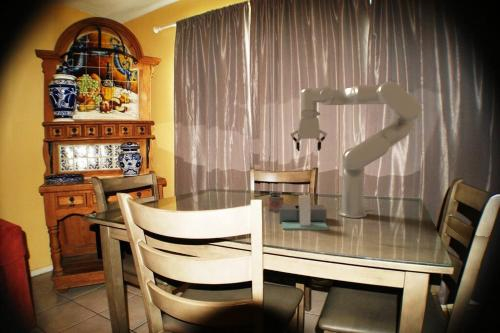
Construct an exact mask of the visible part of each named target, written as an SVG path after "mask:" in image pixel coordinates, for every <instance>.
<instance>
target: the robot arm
mask: <svg viewBox="0 0 500 333" xmlns="http://www.w3.org/2000/svg"><path fill="white" fill-rule="evenodd" d="M318 103H320V104H321V105H324V106H346V105H347V106H348V105H349V106H353V105H354V106H355V105H356V106H357V105H387V106H388V107H389V108H390V109H391V110H392V111H393V112H394V119H393V121H392V122H391V123H390V124H389V125H387V126H385V127H384V128H383V129H381V130H379V131H378V132H376V133H374V134H372V135H370V136H368V137H367V138H366V139H365V140H362V142H360V143H358V144H357V145H355V146H354V147H350V148H347V149H346V150H345V151H344V153H343V155H342V189H341V190H342V191H341V193H342V194H341V196H342V198H341V209H339V210H338V215H339V216H342V217H345V218H349V219H350V218H351V219H353V218H354V219H362V218H366V217H367V216H368V213H367V212H375V207H374V206H372V207H371V206H366V205H364V200H365V199H364V198H365V197H364V195H365V194H364V193H365V191H364V190H365V167H366V166H369V165H370V164H371V163H373V162H375V161H377V160H378V159H380V158H382V157H383V156H385V155H386V154H387V153H388V152H389V150H390V149H391V147H393V146H395V145H396V144H397V143H399V142H401V141H402V140H404V139H405V138H407V137H408V136H409V135H410V133H411V132H412V129H413V128H414V125H415V120H417V119H418V118H419V117H420V116H421V113H422V106H421V104H420V103H419V101H417V100H416V98H414V97H413V96H412V95H410V93H408V91H406V90H405V89H404V88H402V86H400V85H399V84H398V83H397V82H395V81H385V82H383V83H381V84H359V85H353V86H352V87H349V88H343V89H342V88H340V89H332V88H331V87H330V86H326V85H325V86H320V87H314V88H313V87H312V88H311V87H309V88H303V89H302V90H301V92H300V117H299V118H298V125H297V130H295V131H294V132H292V133H290V137H291V138H292V140H293V141H294V142H295V144H296V145H295V146H296V147H295V148H296V150H297V152H300V150H301V149H300V148H301V146H300V145H301V144H300V141H301V140H305V139H307V140H310V139H316V141H317V145H316V146H317V147H316V148H317V150H316V151H318V152H320V151H321V149H322V142H323V141H324V140H325V139H326V137H327V135H328V133H327V132H325V131H323V130H322V129H320V120H319V117H318V116H321V113H320V112H318ZM320 134H322V137H321V136H320ZM295 135H297V138H296V137H295Z"/></svg>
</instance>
